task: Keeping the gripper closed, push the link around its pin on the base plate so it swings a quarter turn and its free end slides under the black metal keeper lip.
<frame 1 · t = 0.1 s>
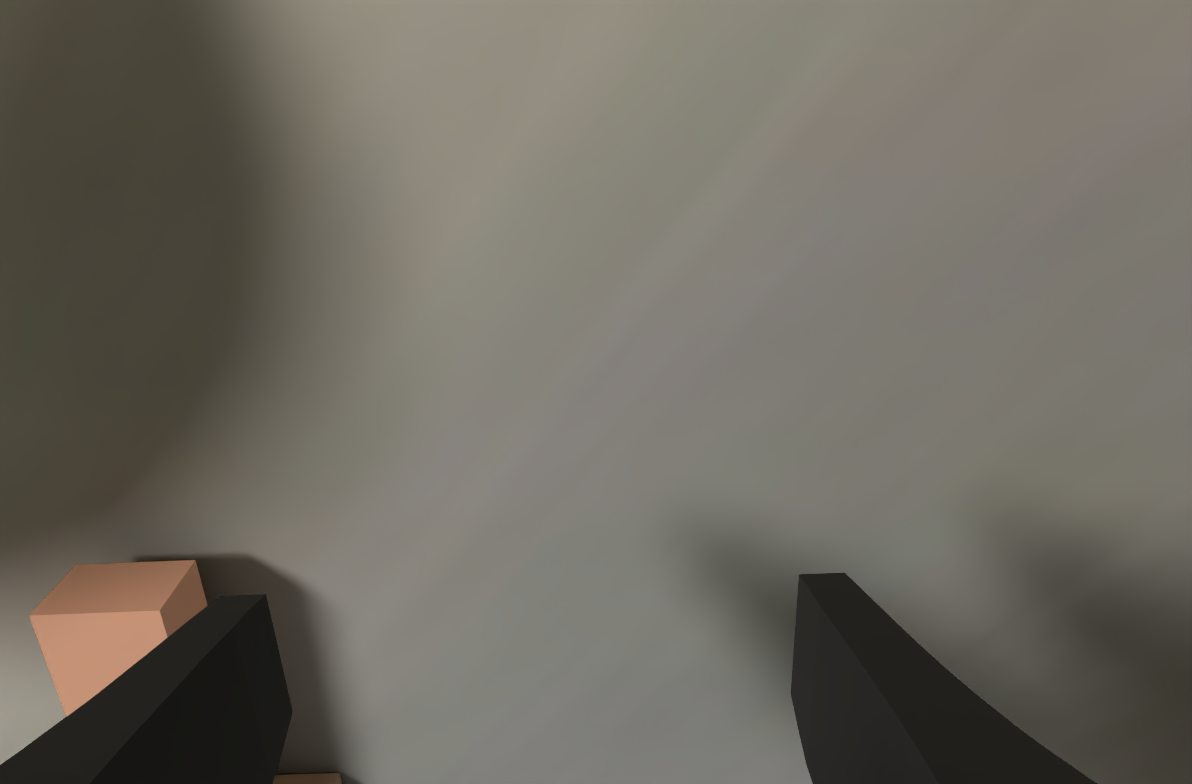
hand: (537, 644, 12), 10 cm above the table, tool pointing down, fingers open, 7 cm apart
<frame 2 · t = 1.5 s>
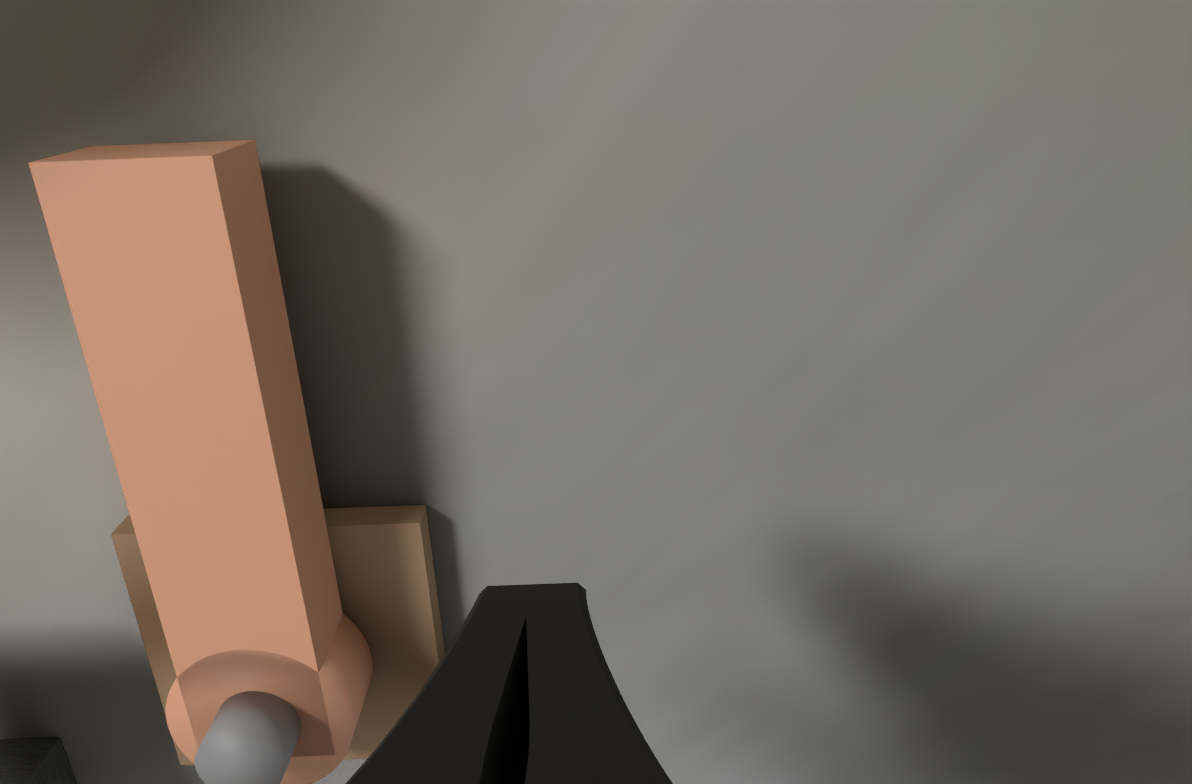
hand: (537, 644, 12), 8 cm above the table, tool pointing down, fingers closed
pintle plate: (302, 630, 22), on the table
link: (218, 515, 17), point 3 cm above the table, hinge at 0.0°
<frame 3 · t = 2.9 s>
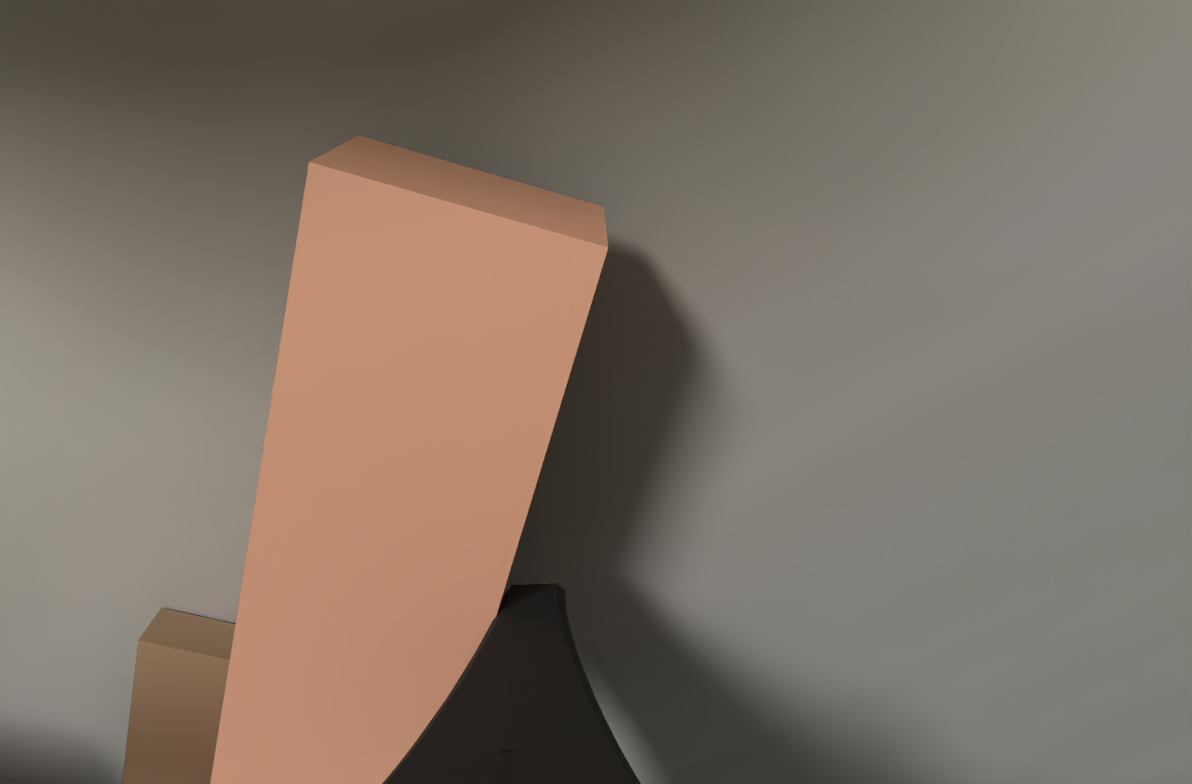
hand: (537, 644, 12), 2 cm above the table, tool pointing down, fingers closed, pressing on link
link: (348, 705, 12), point 3 cm above the table, hinge at 0.4°, touching gripper
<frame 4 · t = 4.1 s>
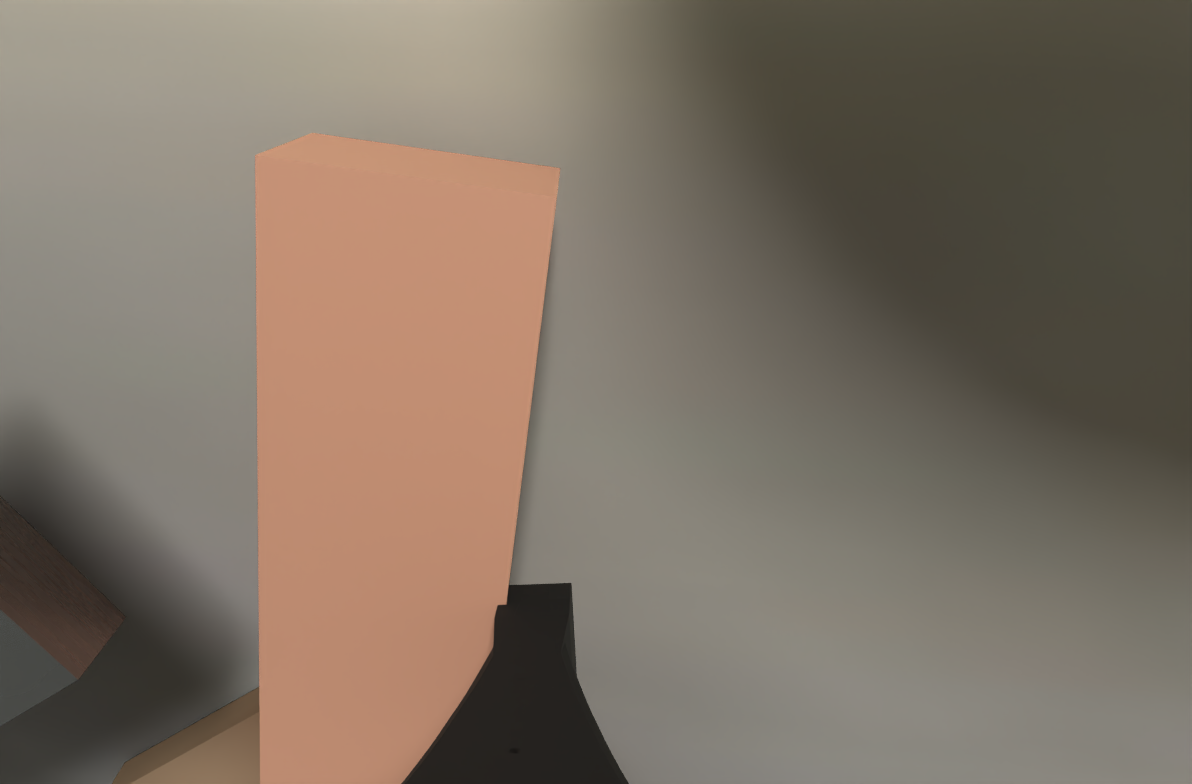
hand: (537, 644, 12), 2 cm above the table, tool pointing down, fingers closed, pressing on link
link: (382, 695, 12), point 3 cm above the table, hinge at 49.6°, touching gripper
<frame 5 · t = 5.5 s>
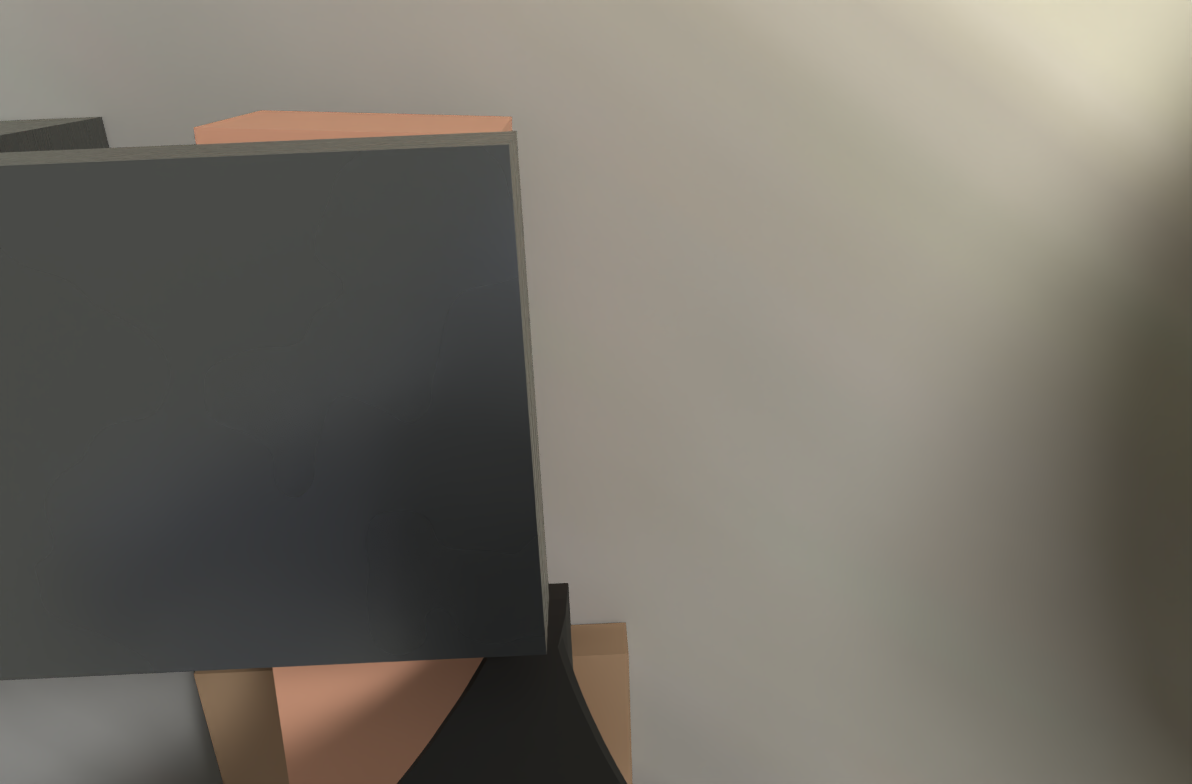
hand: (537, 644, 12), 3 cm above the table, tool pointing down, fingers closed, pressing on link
link: (397, 669, 12), point 3 cm above the table, hinge at 86.3°, touching gripper
keeper: (230, 296, 12), on the table
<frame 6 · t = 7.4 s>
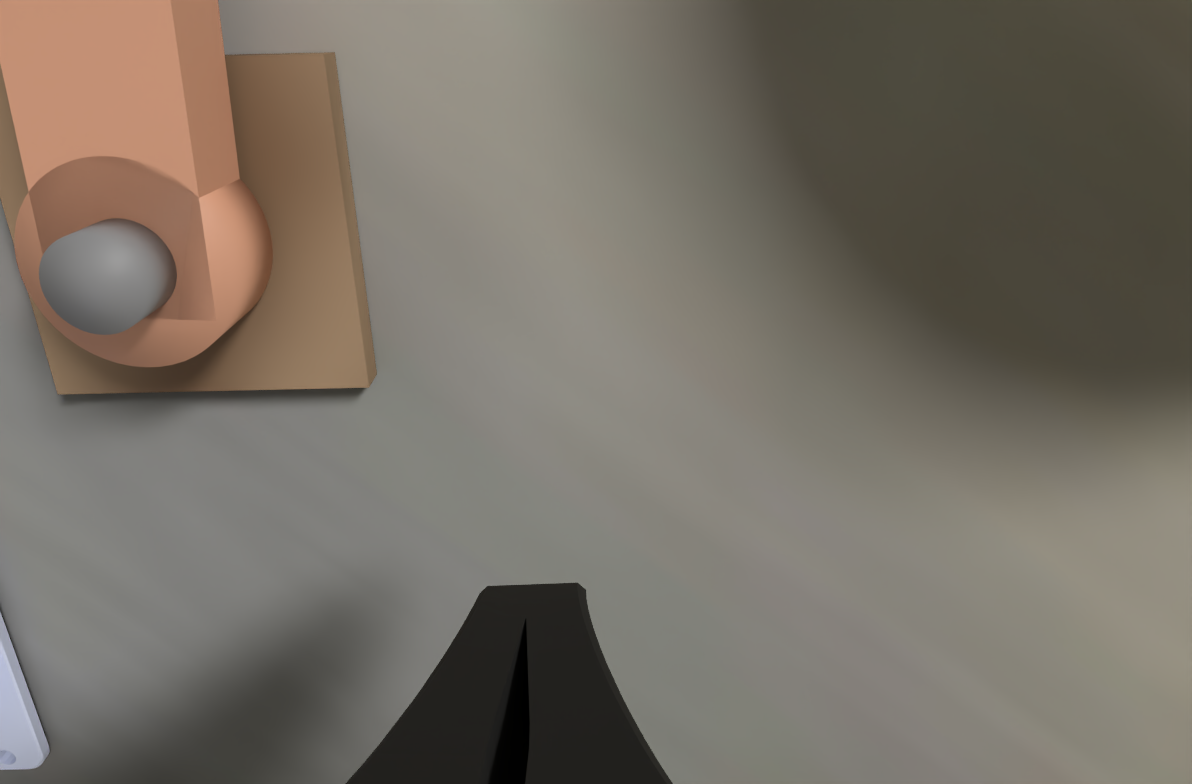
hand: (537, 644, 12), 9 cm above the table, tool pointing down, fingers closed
pintle plate: (196, 228, 19), on the table
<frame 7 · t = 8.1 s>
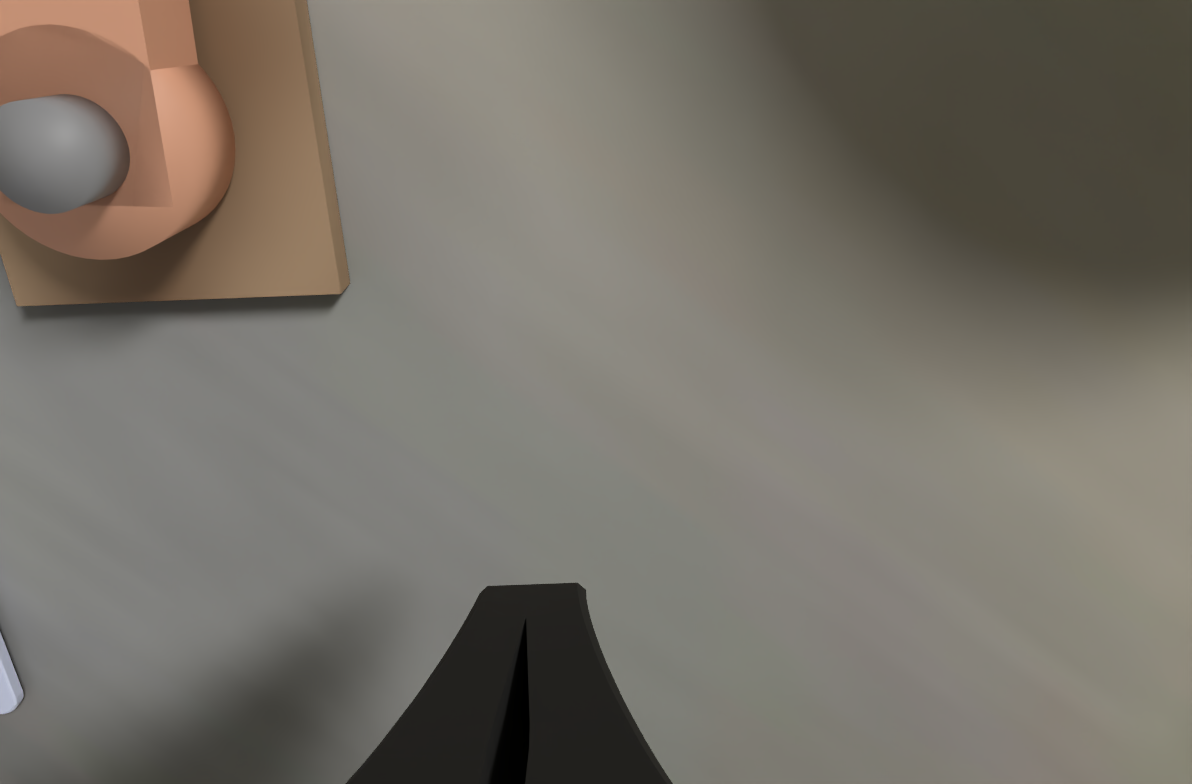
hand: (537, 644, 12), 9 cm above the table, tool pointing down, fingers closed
pintle plate: (157, 127, 18), on the table
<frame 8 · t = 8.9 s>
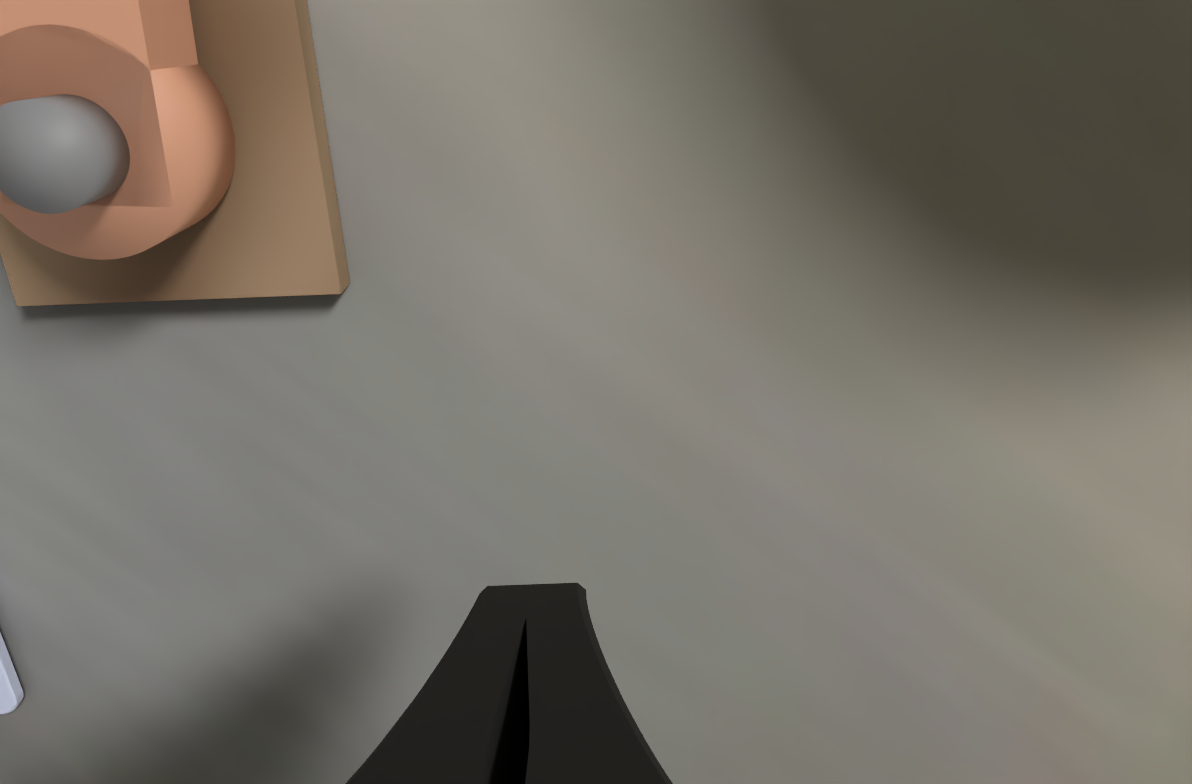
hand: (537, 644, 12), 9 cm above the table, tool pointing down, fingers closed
pintle plate: (157, 127, 18), on the table
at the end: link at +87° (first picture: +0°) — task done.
